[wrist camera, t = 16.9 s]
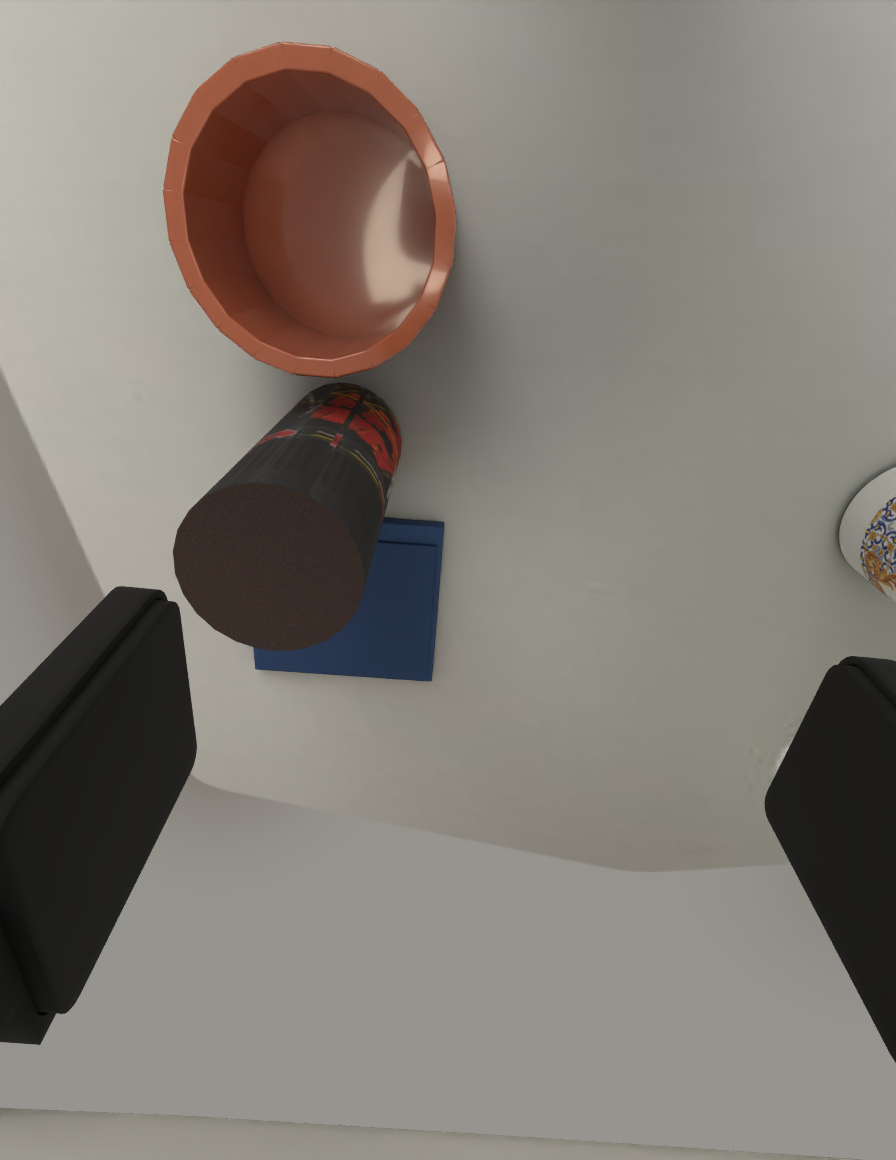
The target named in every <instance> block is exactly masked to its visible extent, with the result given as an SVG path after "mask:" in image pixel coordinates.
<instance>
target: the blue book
mask: <svg viewBox="0 0 896 1160" xmlns="http://www.w3.org/2000/svg"><path fill="white" fill-rule="evenodd" d="M443 533H444V523H443V522H431V521H418V520H405V519H391V518H383V521H382V525H381V529H380V532H379V536H378V540H377V544H376V547H375V551H374V555H373V558H372V562H371V566H370V570H369V573H368V577H367V581H366V584H365V588H364V592H363V595H362V598H361V600H360V603H359V605H358V608H357V610H356V613H355V614H354V616H353V617H352V618H351V619H350V621H349V622H348V623H347V624H346V626H345V627H344V628H343V629H342V630H341V631H339V632H338V633H336V634H335V635H334V636H332V637H331V638H329V639H328V640H326V641H325V642H322V643H319V644H316V645H314V646H311V647H308V648H305V649H298V650H289V651H275V650H265V649H258V648H255V647H254V659H255V669H258V670H272V671H287V672H301V673H315V674H330V675H344V676H359V677H373V678H387V679H402V680H416V681H432V672H433V659H434V647H435V634H436V621H437V609H438V596H439V583H440V571H441V558H442V545H443Z"/></svg>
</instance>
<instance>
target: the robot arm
mask: <svg viewBox="0 0 896 1160" xmlns="http://www.w3.org/2000/svg"><path fill="white" fill-rule="evenodd" d="M196 750H197V742H196V734H195V727H194V719H193V711H192V703H191V695H190V687H189V679H188V671H187V664H186V656H185V648H184V640H183V632H182V624H181V616H180V610H179V606H178V605H177V603H176V602H172V601H168V600H167V597H166V595H165V593H164V592H163V591H161V590H155V589H145V588H134V587H124V586H120V587H116V588H115V589H113V590H112V591H111V592H110V593H109V594H108V595H107V596H106V597H105V598H104V599H103V600H102V601H101V602H100V603H99V604H98V605H97V606H96V607H95V608H94V609H93V610H92V612H91V613H90V614H89V615H88V616H87V617H86V618H85V619H84V620H83V621H82V622H81V623H80V624H79V625H78V626H77V627H76V628H75V629H74V630H73V631H72V632H71V633H70V634H69V635H68V636H67V637H66V638H65V640H64V641H63V642H62V643H61V644H60V645H59V646H58V647H57V648H56V649H55V650H54V651H53V652H52V653H51V654H50V655H49V656H48V657H47V658H46V659H45V660H44V661H43V662H42V663H41V664H40V665H39V666H38V667H37V668H36V670H35V671H34V672H33V673H32V674H31V675H30V676H29V677H28V678H27V679H26V680H25V681H24V682H23V683H22V684H21V685H20V686H19V687H18V688H17V689H16V690H15V691H14V692H13V694H11V696H9V698H8V699H7V700H6V701H5V702H4V703H3V704H2V705H1V706H0V1042H9V1043H24V1044H38V1045H40V1044H41V1042H42V1040H43V1038H44V1036H45V1034H46V1032H47V1030H48V1028H49V1026H50V1024H51V1022H52V1020H53V1019H54V1017H55V1014H56V1013H60V1014H65V1013H66V1012H68V1011H69V1010H70V1009H71V1008H72V1007H73V1005H74V1004H75V1003H76V1001H77V999H78V997H79V996H80V994H81V992H82V990H83V988H84V986H85V984H86V982H87V980H88V978H89V975H90V974H91V972H92V970H93V968H94V966H95V963H96V961H97V959H98V958H99V955H100V953H101V951H102V949H103V947H104V945H105V943H106V941H107V939H108V937H109V935H110V933H111V931H112V929H113V927H114V925H115V923H116V921H117V919H118V917H119V915H120V913H121V911H122V909H123V907H124V905H125V903H126V901H127V899H128V897H129V895H130V893H131V891H132V889H133V887H134V885H135V883H136V881H137V879H138V877H139V875H140V873H141V871H142V869H143V867H144V865H145V863H146V861H147V859H148V857H149V855H150V853H151V851H152V849H153V846H154V845H155V843H156V841H157V839H158V837H159V834H160V833H161V830H162V829H163V827H164V825H165V823H166V821H167V819H168V817H169V815H170V813H171V811H172V809H173V807H174V804H175V803H176V801H177V799H178V797H179V795H180V792H181V790H182V789H183V786H184V784H185V782H186V780H187V778H188V776H189V774H190V772H191V770H192V768H193V765H194V762H195V757H196ZM765 811H766V816H767V818H768V821H769V823H770V824H771V826H772V828H773V830H774V832H775V834H776V836H777V838H778V840H779V842H780V844H781V846H782V847H783V849H784V851H785V853H786V855H787V857H788V859H789V861H790V863H791V865H792V867H793V869H794V870H795V872H796V874H797V876H798V878H799V880H800V882H801V884H802V886H803V888H804V890H805V892H806V893H807V895H808V897H809V899H810V901H811V903H812V905H813V907H814V909H815V911H816V913H817V915H818V916H819V918H820V920H821V922H822V924H823V926H824V928H825V930H826V932H827V934H828V936H829V937H830V939H831V941H832V943H833V945H834V947H835V949H836V951H837V953H838V955H839V957H840V958H841V961H842V962H843V964H844V966H845V968H846V970H847V972H848V974H849V976H850V978H851V980H852V982H853V983H854V985H855V987H856V989H857V991H858V993H859V995H860V997H861V999H862V1001H863V1003H864V1005H865V1007H866V1008H867V1010H868V1012H869V1014H870V1016H871V1018H872V1020H873V1022H874V1024H875V1026H876V1028H877V1030H878V1031H879V1033H880V1035H881V1037H882V1039H883V1041H884V1043H885V1045H886V1047H887V1049H888V1051H889V1053H890V1054H891V1056H892V1058H893V1059H894V1061H895V1062H896V661H893V660H888V659H878V658H868V657H857V656H850V657H846V658H845V659H843V660H842V661H841V662H840V663H839V665H834V666H832V667H831V668H830V669H829V670H828V672H827V673H826V675H825V677H824V679H823V681H822V683H821V685H820V687H819V689H818V691H817V693H816V695H815V697H814V699H813V701H812V703H811V705H810V707H809V709H808V711H807V713H806V715H805V717H804V719H803V721H802V723H801V725H800V727H799V729H798V731H797V733H796V735H795V737H794V739H793V741H792V743H791V745H790V747H789V749H788V751H787V753H786V755H785V757H784V759H783V761H782V763H781V765H780V767H779V769H778V771H777V773H776V775H775V777H774V779H773V781H772V783H771V785H770V787H769V789H768V791H767V794H766V797H765ZM0 1160H858V1159H845V1158H831V1157H817V1156H803V1155H787V1154H773V1153H758V1152H743V1151H728V1150H714V1149H699V1148H684V1147H669V1146H653V1145H639V1144H625V1143H608V1142H594V1141H578V1140H564V1139H549V1138H533V1137H518V1136H502V1135H487V1134H473V1133H457V1132H441V1131H424V1130H407V1129H392V1128H374V1127H359V1126H342V1125H325V1124H309V1123H294V1122H276V1121H260V1120H243V1119H228V1118H211V1117H194V1116H178V1115H157V1114H133V1113H107V1112H84V1111H83V1112H82V1111H60V1110H59V1111H58V1110H35V1109H11V1108H0Z"/></svg>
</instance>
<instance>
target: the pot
mask: <svg viewBox="0 0 896 1160" xmlns="http://www.w3.org/2000/svg"><path fill="white" fill-rule="evenodd" d="M172 137H173V138H172V139H171V145H170V151H169V157H168V163H167V169H166V175H165V181H164V189H163V195H164V203H165V212H166V220H167V229H168V237H169V241H170V245H171V247H172V250H173V252H174V255H175V257H176V260H177V262H178V265H179V267H180V270H181V272H182V275H183V277H184V280H185V283H186V285H187V288H188V289H190V292H191V294H192V295H193V297H194V298H195V299H196V301H197V302H198V303H199V305H200V306H201V307H202V309H203V310H204V312H205V313H206V314H207V316H208V317H209V318H210V320H211V321H212V322H213V324H214V325H215V326H216V328H219V331H220V332H221V333H223V334H224V335H225V336H226V337H228V338H229V339H230V340H232V341H233V342H234V343H235V344H237V345H238V346H239V347H240V348H242V349H243V350H244V351H245V352H247V353H248V354H249V355H250V356H252V357H254V358H255V359H256V360H259V361H261V362H264V363H266V364H268V365H271V366H273V367H276V368H278V369H281V370H283V371H286V372H288V373H290V374H295V375H302V376H314V377H327V378H334V377H336V378H338V377H342V376H346V375H350V374H354V373H358V372H361V371H365V370H369V369H373V368H376V367H377V366H379V365H380V364H382V363H383V362H385V361H386V360H388V359H389V358H391V357H392V356H394V355H395V354H397V353H398V352H400V351H401V350H403V349H404V348H406V347H407V346H408V345H409V344H410V343H411V342H412V341H413V340H414V338H415V337H416V336H417V334H418V333H419V332H420V331H421V329H422V328H423V327H424V325H425V324H426V323H427V322H428V320H429V319H430V318H431V316H432V315H433V314H434V313H435V310H436V309H437V307H438V304H439V301H440V299H441V296H442V293H443V290H444V288H445V285H446V282H447V280H448V277H449V274H450V272H451V269H452V265H453V261H454V251H455V237H456V210H455V205H454V201H453V196H452V191H451V186H450V181H449V176H448V171H447V166H446V162H445V161H444V157H443V155H442V153H441V151H440V149H439V148H438V146H437V144H436V142H435V140H434V138H433V136H432V134H431V132H430V130H429V128H428V126H427V124H426V122H425V120H424V118H423V117H422V115H421V113H420V112H419V110H418V109H417V108H416V107H415V105H414V104H413V103H412V102H411V101H410V100H409V99H408V98H407V97H406V96H405V95H404V94H403V93H402V92H401V91H400V90H399V89H398V88H397V87H396V86H395V85H394V84H393V83H392V82H391V81H390V80H389V79H388V78H387V77H386V76H385V75H384V74H383V73H382V72H381V71H379V70H378V69H376V68H374V67H372V66H370V65H368V64H366V63H364V62H363V61H361V60H359V59H357V58H355V57H353V56H351V55H349V54H347V53H345V52H343V51H341V50H339V49H337V48H332V47H330V46H325V45H314V44H303V43H292V42H282V43H281V42H278V43H274V44H271V45H268V46H265V47H262V48H259V49H256V50H253V51H250V52H247V53H244V54H241V55H238V56H235V57H234V58H232V59H230V60H229V61H228V62H227V63H226V64H225V65H224V66H222V67H221V68H220V69H219V70H218V71H217V72H216V73H214V74H213V75H212V76H211V77H210V78H209V79H208V80H207V81H205V82H204V83H203V84H202V85H201V86H200V87H199V88H197V90H196V91H195V92H194V94H193V96H192V98H191V100H190V102H189V104H188V106H187V108H186V110H185V111H184V113H183V115H182V117H181V119H180V121H179V123H178V125H177V127H176V129H175V131H174V133H173V134H172Z"/></svg>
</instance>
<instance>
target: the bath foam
mask: <svg viewBox="0 0 896 1160" xmlns="http://www.w3.org/2000/svg"><path fill="white" fill-rule="evenodd" d="M839 541H840V547H841V551H842V553H843V555H844V557H845V559H846V560H847V562H848V563H849V564H850V565H851V566H852V567H853V568H854V569H855V570H856V571H857V572H858V573H860V574H861V575H862V576H863V577H864V578H866V579H867V580H868V581H869V582H871V583H872V584H873V585H874V586H875V587H876V588H877V589H879V590H880V591H881V592H882V593H883V594H885V595H886V596H887V597H888V598H890V599H891V600H892V601H893V602H894V603H896V467H895V468H892V469H890V470H888V471H886V472H884V473H882V474H881V475H879V476H877V477H876V478H874V479H873V480H872V481H870V482H869V483H868V484H867V485H866V486H865V487H863V488H862V489H861V490H860V491H859V493H858V494H857V495H856V496H855V497H854V499H853V500H852V501H851V503H850V504H849V506H848V508H847V509H846V511H845V514H844V516H843V519H842V522H841V525H840V532H839Z"/></svg>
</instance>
